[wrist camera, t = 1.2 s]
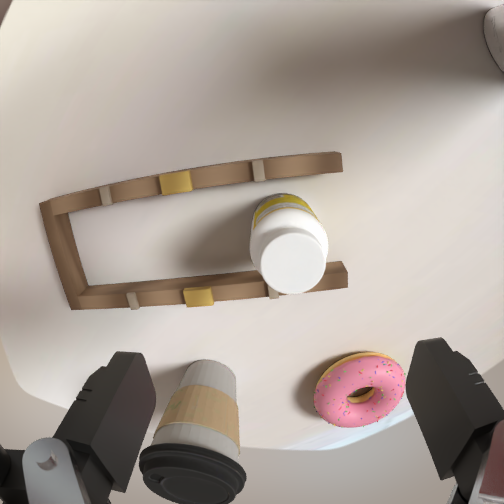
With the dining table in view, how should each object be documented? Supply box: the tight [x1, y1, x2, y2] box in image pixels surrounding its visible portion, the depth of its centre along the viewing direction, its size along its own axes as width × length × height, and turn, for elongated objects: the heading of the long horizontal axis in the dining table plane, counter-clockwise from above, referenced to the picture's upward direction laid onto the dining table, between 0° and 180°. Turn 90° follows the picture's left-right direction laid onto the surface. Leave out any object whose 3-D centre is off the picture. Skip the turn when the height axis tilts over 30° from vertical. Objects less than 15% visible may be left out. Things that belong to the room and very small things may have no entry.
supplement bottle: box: [250, 193, 328, 294], centre depth 24 cm, size 5×5×10 cm
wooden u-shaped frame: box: [39, 151, 348, 310], centre depth 28 cm, size 28×12×3 cm, turn 97°
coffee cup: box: [139, 360, 246, 504], centre depth 28 cm, size 9×9×15 cm
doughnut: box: [314, 352, 406, 428], centre depth 33 cm, size 11×11×4 cm
